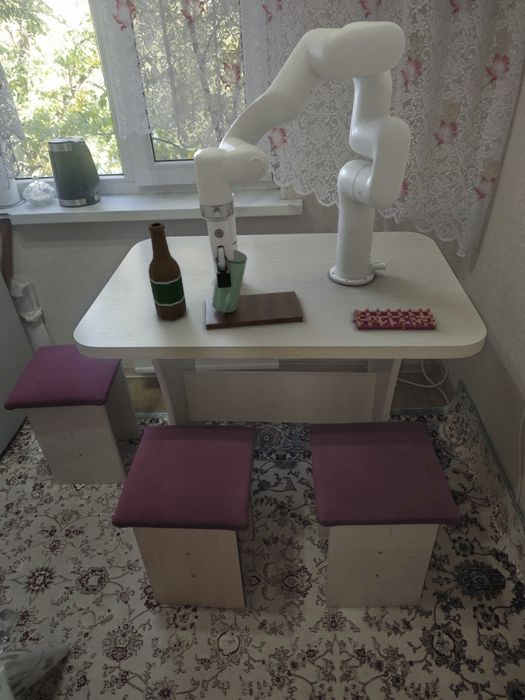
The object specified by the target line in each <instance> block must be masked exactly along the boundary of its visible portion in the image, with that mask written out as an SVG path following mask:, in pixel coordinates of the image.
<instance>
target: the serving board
mask: <svg viewBox="0 0 525 700" xmlns="http://www.w3.org/2000/svg"><path fill="white" fill-rule="evenodd" d="M212 298H213V297H206V298H205V329H206V330H215V329H228V328H229V329H230V328H239V327H240V328H241V327H254V326H264V325H276V324H288V323H301V322H304V321H303V320H304V317H303V316H304V315H303V312H302V310H301V306H300V303H299V300H298V297H297V294H296V291H295V290H292V291H279V292H267V293H265V292H264V293H254V294H253V293H252V294H241V295H239V300H238V305H237V309H236V310H235V311H233V312H222V311H219V310H217V309H215V308H214V307H213V306H212Z"/></svg>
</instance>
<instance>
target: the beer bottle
mask: <svg viewBox="0 0 525 700" xmlns="http://www.w3.org/2000/svg"><path fill="white" fill-rule="evenodd" d="M165 229H166V227H165V225H164V224H163V223H162V222H153V223H150V224H149V226H148V231H149V233H150V241H151V249H152V258H151V261H150V263H149V267H148V278H149V283H150V288H151V293H152V297H153V303H154V307H155V312H156V315H157V316H158V317H159V318H160V319H161V320H163V321H176V320H178V319H180V318H183V317H184V316H185V313H186V312H187V302H186V296H185V289H184V283H183V282H184V281H183V277H182V271H181V267H180V265H179V263H178V262H177V260H176V259H175V258H174V257H173V256H172V254H171V252H170V249H169V244H168V240H167V236H166V232H165Z"/></svg>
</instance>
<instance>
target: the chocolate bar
mask: <svg viewBox="0 0 525 700" xmlns="http://www.w3.org/2000/svg"><path fill="white" fill-rule="evenodd" d="M353 312H354V313H353V314H354V318H353V319H352V322H353V323H356V324H355V325H356V329H357V330H359V331H360V330H361V331H363V330H368V331H370V330H378V331H380V330H381V331H382V330H384V331H385V330H390V331H391V330H395V331H396V330H436V328H437V323H436V318H435V317H434V313H431V308H430V307H427V308H425V309H423V308H422V307H419V308H418V309H417V310H416V309H415V310H413V309H412V307H408V308H407V309H405V310H402V309H401V308H400V307H398V308H397V309H396V310H394V309H393V310H391V308H390V307H388V308H386V309H385V310H380V308H375V310H370V309H369V308H368V307H367V308H365V309H364V310H359V309H357V308H355V309H354V311H353Z"/></svg>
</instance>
